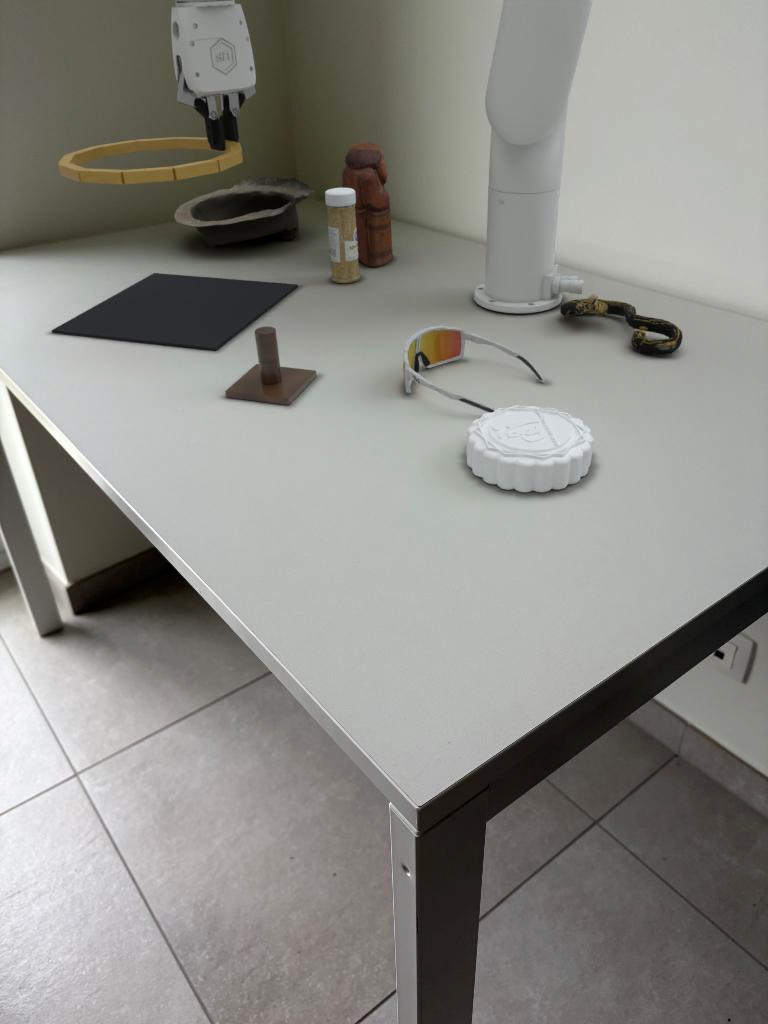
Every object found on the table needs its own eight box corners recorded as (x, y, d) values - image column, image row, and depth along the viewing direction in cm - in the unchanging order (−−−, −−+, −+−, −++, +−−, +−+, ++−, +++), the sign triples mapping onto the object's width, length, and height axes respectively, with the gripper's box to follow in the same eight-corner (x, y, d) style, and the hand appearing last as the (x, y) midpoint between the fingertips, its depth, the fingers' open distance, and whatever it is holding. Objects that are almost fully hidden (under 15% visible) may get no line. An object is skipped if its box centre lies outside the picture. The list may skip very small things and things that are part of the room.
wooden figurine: (402, 263, 132) (399, 145, 122) (366, 269, 130) (360, 150, 120) (373, 246, 141) (368, 135, 131) (340, 251, 139) (332, 139, 129)
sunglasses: (442, 349, 101) (447, 312, 98) (549, 391, 95) (558, 353, 92) (377, 391, 92) (380, 352, 89) (491, 441, 86) (499, 401, 82)
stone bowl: (338, 225, 152) (333, 174, 146) (269, 275, 135) (261, 219, 129) (229, 214, 161) (221, 165, 155) (152, 258, 144) (139, 206, 138)
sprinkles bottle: (361, 282, 125) (356, 192, 117) (332, 285, 124) (325, 194, 117) (358, 273, 128) (353, 185, 121) (330, 276, 128) (323, 187, 120)
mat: (298, 286, 124) (297, 284, 124) (216, 350, 104) (215, 348, 104) (154, 275, 132) (154, 272, 132) (52, 332, 112) (51, 330, 111)
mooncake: (456, 436, 83) (456, 405, 81) (569, 427, 83) (573, 396, 81) (479, 499, 73) (480, 465, 71) (607, 488, 73) (612, 454, 71)
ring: (271, 149, 112) (270, 139, 112) (184, 187, 94) (182, 174, 93) (129, 145, 119) (127, 135, 118) (23, 179, 101) (20, 168, 100)
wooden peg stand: (316, 376, 96) (311, 320, 92) (288, 405, 90) (282, 347, 86) (257, 369, 99) (249, 314, 95) (226, 397, 92) (216, 340, 88)
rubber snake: (695, 314, 95) (618, 331, 93) (692, 350, 97) (617, 368, 96) (620, 274, 109) (552, 289, 108) (618, 307, 112) (552, 322, 110)
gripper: (162, -5, 95) (188, 160, 106) (271, -11, 104) (285, 143, 114) (134, -5, 100) (161, 153, 111) (239, -10, 108) (256, 138, 119)
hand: (224, 147), depth 112 cm, fingers closed on ring, 1 cm apart
